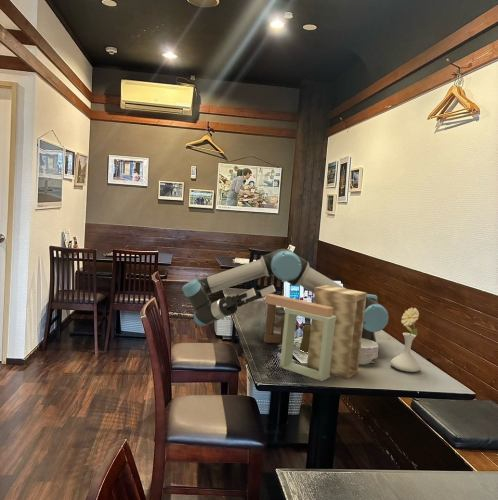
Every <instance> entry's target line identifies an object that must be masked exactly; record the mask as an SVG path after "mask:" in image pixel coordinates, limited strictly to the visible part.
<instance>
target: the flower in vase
mask: <svg viewBox="0 0 498 500" xmlns="http://www.w3.org/2000/svg"><path fill="white" fill-rule="evenodd" d="M419 316H420V313H419V310H418V309H417V308H416V307H414V308H413V307H410V308H408V309H407V310H404V313H403V314H402V316H401V320H400V322H401V324H403V327H405V328H406V329H407V330H408V331H409V332H410V333H409V332H403V333H402V335H403V339H404V349H403V352H402V353H400V354H398V355H397V356H395V357H393V358H392V359H391V360H390V365H391V366H392V367H393V368H394V369H397V370H400V371H403V372H411V373H413V372H419V371H420V370H421V369H422V366H421V364H420V363H419V361H418V360H417V359H416V358H415V357H414V356H413V355H412V353H411V352H412V351H411V349H412V343H413V341H414V339H415V338H416V337H417V336H418V328H415V323H416V321H418V320H419ZM412 325H413V328H411V327H410V326H412Z"/></svg>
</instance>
